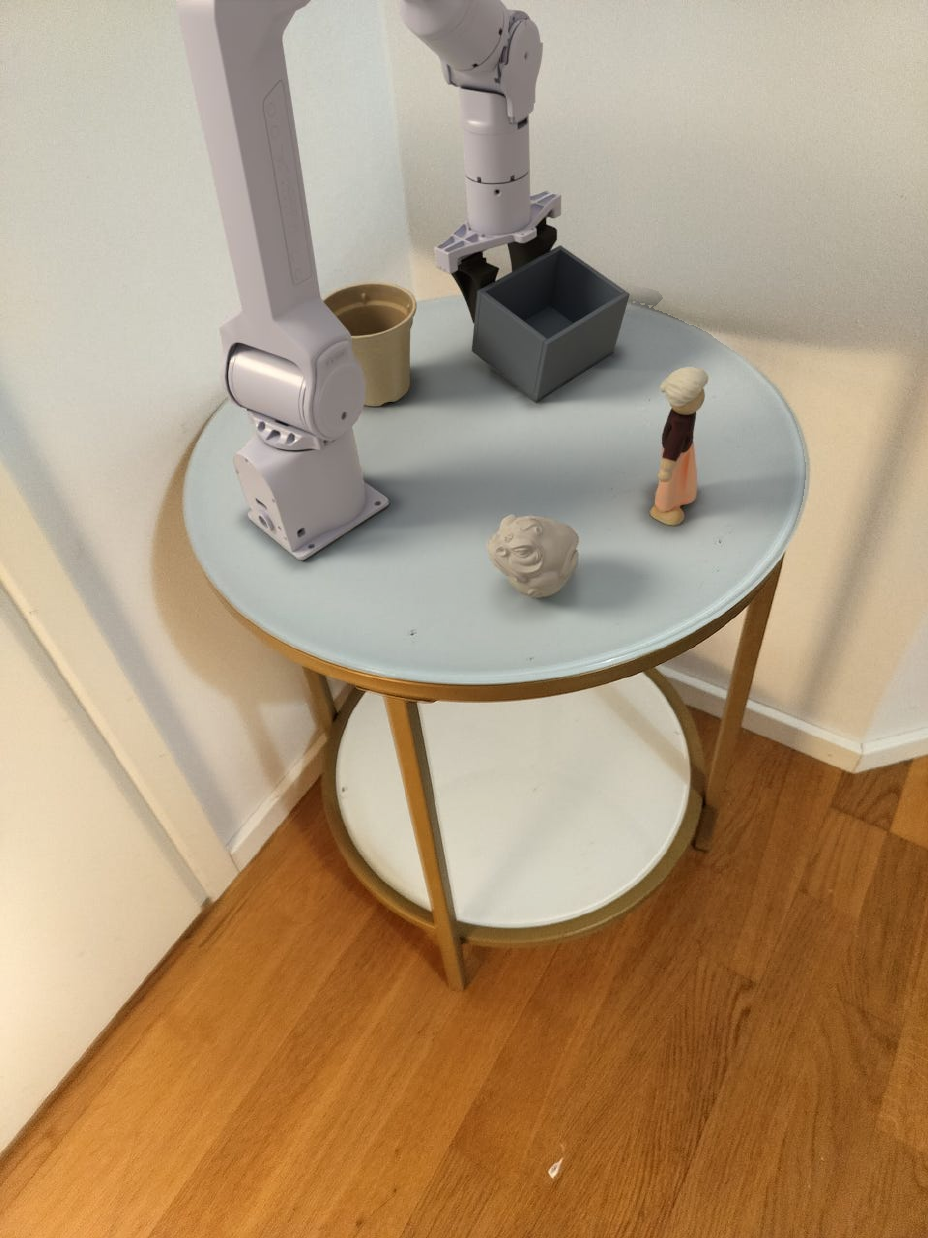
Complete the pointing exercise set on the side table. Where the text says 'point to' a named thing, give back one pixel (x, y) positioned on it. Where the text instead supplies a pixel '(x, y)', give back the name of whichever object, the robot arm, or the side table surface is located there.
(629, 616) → the side table surface
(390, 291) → the flower pot
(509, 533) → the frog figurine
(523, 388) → the basket
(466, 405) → the side table surface
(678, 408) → the grandmother figurine
